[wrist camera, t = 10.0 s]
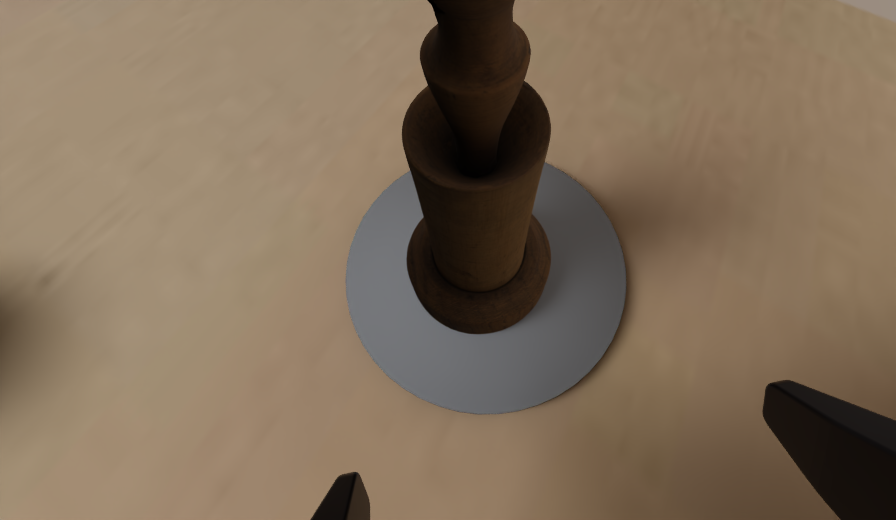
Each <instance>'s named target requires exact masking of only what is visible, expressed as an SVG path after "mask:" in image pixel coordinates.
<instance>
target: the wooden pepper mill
mask: <svg viewBox="0 0 896 520" xmlns="http://www.w3.org/2000/svg"><path fill="white" fill-rule="evenodd" d="M428 1H429V3H430V4H431V5H432V7H433V9H434V12H435V16H436V19H437V22H438V24H437V25H436V26H435V27H434V28H432V29H431V30H430V32H429V33H428V34H427V36H426V37H425V39H424V41H423V43H422V46H421V50H420V61H421V65H422V69H423V72H424V75H425V78H426V81H427V84H428V86H427V87H426V88H425V89H423V90H422V91H421V92H420V93H419V94H418V95H417V96H416V98H415V99H414V100H413V102H412V103H411V104H410V106H409V108H408V110H407V112H406V115H405V118H404V121H403V126H402V141H403V147H404V151H405V154H406V158H407V161H408V164H409V168H410V171H411V174H412V178H413V181H414V184H415V188H416V191H417V195H418V199H419V202H420V206H421V209H422V213H423V218H422V219H421V221H420V222H419V223H418V225H417V226H416V228H415V230H414V231H413V233H412V236H411V238H410V241H409V244H408V249H407V259H406V261H407V271H408V275H409V278H410V281H411V284H412V286H413V289H414V291H415V293H416V296H417V298H418V299H419V301H420V303H421V304H422V306H423V307H424V309H425V310H426V311H427V312H428V313H429V314H430V315H431V316H432V317H433V318H434V319H435V320H437V321H438V322H440V323H441V324H443V325H444V326H446V327H448V328H450V329H453V330H455V331H458V332H462V333H467V334H489V333H494V332H498V331H501V330H504V329H506V328H509V327H511V326H512V325H514V324H516V323H517V322H519V321H520V320H522V319H523V318H524V317H525V316H526V315H527V314H528V313H529V312H530V311H531V310H532V309H533V308H534V307H535V305H536V304H537V302H538V300H539V299H540V297H541V295H542V292H543V290H544V287H545V284H546V282H547V279H548V276H549V272H550V266H551V249H550V244H549V241H548V238H547V235H546V233H545V231H544V229H543V227H542V225H541V224H540V223H539V221H538V220H537V219H536V217H535V216H534V215H533V214H532V210H533V206H534V202H535V198H536V193H537V189H538V185H539V181H540V177H541V173H542V169H543V166H544V162H545V158H546V154H547V150H548V146H549V142H550V135H551V123H550V117H549V113H548V110H547V108H546V106H545V104H544V102H543V100H542V98H541V97H540V95H539V94H538V93H537V92H536V91H535V90H534V89H533V88H532V87H531V86H530V85H529V84H528V83H527V82H525V81H524V79H525V76H526V73H527V69H528V66H529V62H530V55H531V49H530V44H529V40H528V38H527V36H526V34H525V33H524V31H523V30H522V29H521V28H520V27H519V26H518V25H517V24H516V23H515V22H513V12H512V11H513V5H514V1H515V0H428Z"/></svg>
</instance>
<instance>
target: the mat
mask: <svg viewBox="0 0 896 520" xmlns="http://www.w3.org/2000/svg"><path fill="white" fill-rule="evenodd" d="M532 214H533V215H534V216H535V217H536V219H537V220H538V221H539V223H540V224H541V225H542V227H543V229H544V231H545V233H546V235H547V238H548V241H549V244H550V249H551V266H550V272H549V276H548V279H547V282H546V284H545V287H544V290H543V292H542V295H541V297H540V299H539V300H538V302H537V304H536V305H535V307H534V308H533V309H532V310H531V311H530V312H529V313H528V314H527V315H526V316H525V317H524V318H523V319H522V320H520V321H519V322H517V323H516V324H514V325H512V326H511V327H509V328H506V329H504V330H501V331H498V332H494V333H489V334H467V333H462V332H458V331H455V330H453V329H450V328H448V327H446V326H444V325H443V324H441V323H440V322H438V321H437V320H435V319H434V318H433V317H432V316H431V315H430V314H429V313H428V312H427V311H426V310H425V309H424V307H423V306H422V304H421V303H420V301H419V299H418V298H417V296H416V293H415V291H414V289H413V286H412V284H411V281H410V278H409V275H408V271H407V261H406V259H407V249H408V244H409V241H410V238H411V236H412V233H413V231H414V230H415V228H416V226H417V225H418V223H419V222H420V221H421V219H422V218H423V213H422V209H421V206H420V202H419V199H418V195H417V191H416V188H415V184H414V181H413V178H412V174H411V171H409V172H407V173H406V174H404V175H403V176H401V177H400V178H399V179H397V180H396V181H395V182H393V183H392V184H391V185H390V186H389V187H388V188H387V189H386V190H384V191H383V192H382V194H381V195H380V196H379V197H378V198H377V199H376V200H375V201H374V203H373V204H372V205H371V207H370V208H369V210H368V211H367V213H366V214H365V215H364V217H363V219H362V221H361V223H360V225H359V227H358V229H357V231H356V233H355V236H354V239H353V241H352V244H351V247H350V252H349V256H348V261H347V270H346V295H347V301H348V306H349V312H350V315H351V318H352V321H353V324H354V327H355V330H356V332H357V334H358V336H359V338H360V340H361V342H362V344H363V346H364V347H365V349H366V350H367V352H368V353H369V355H370V356H371V357H372V359H373V360H374V362H375V363H376V364H377V365H378V366H379V367H380V368H381V369H382V370H383V371H384V372H385V373H386V375H387V376H389V377H390V378H391V379H392V380H394V381H395V382H396V383H397V384H398V385H400V386H401V387H402V388H404V389H405V390H407V391H409V392H410V393H412V394H414V395H415V396H417V397H419V398H421V399H423V400H425V401H428V402H430V403H432V404H435V405H437V406H440V407H443V408H447V409H450V410H454V411H458V412H464V413H472V414H502V413H508V412H515V411H519V410H523V409H526V408H529V407H533V406H536V405H539V404H541V403H543V402H545V401H548V400H550V399H552V398H554V397H556V396H558V395H560V394H561V393H563V392H564V391H566V390H567V389H569V388H570V387H572V386H574V385H575V384H576V383H577V382H578V381H579V380H581V379H582V378H583V377H584V376H585V375H586V374H587V373H589V372H590V370H591V369H592V368H593V367H594V366H595V365H596V363H597V362H598V361H599V360H600V359H601V357H602V356H603V354H604V353H605V351H606V350H607V348H608V346H609V345H610V343H611V342H612V339H613V337H614V335H615V333H616V330H617V328H618V326H619V323H620V319H621V316H622V312H623V308H624V303H625V294H626V269H625V263H624V257H623V252H622V249H621V246H620V243H619V239H618V236H617V234H616V232H615V230H614V228H613V226H612V224H611V222H610V220H609V218H608V217H607V215H606V214H605V212H604V211H603V209H602V208H601V206H600V205H599V204H598V203H597V201H596V200H595V199H594V198H593V197H592V195H591V194H590V193H589V192H588V191H587V190H585V189H584V188H583V187H582V186H581V185H580V184H579V183H578V182H577V181H575V180H574V179H572V178H571V177H570V176H568V175H567V174H565V173H564V172H562V171H560V170H559V169H557V168H555V167H553V166H551V165H550V164H547V163H545V162H544V166H543V169H542V173H541V177H540V181H539V185H538V189H537V193H536V198H535V202H534V206H533V210H532Z"/></svg>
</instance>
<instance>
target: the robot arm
mask: <svg viewBox="0 0 896 520" xmlns="http://www.w3.org/2000/svg"><path fill="white" fill-rule="evenodd" d="M763 417H764V419H765V421H766V423H767V425H768V426H769V428H770V429H771V430H772V432H773V433H774V434H775V436H776V437H777V438H778V440H779V441H780V443H781V444H782V445H783V447H784V448H785V449H786V451H787V452H788V454H789V455H790V456H791V458H792V459H793V460H794V462H795V463H796V465H797V466H798V467H799V469H800V470H801V471H802V473H803V474H804V475H805V477H806V478H807V480H808V481H809V482H810V483H811V485H812V486H813V487H814V489H815V490H816V491H817V492H818V494H819V495H820V496H821V497H822V498H823V500H824V501H825V502H826V503H827V504H828V506H829V507H830V508H831V509H832V510H833V511H834V512H835V514H836V515H837V516H838V517H839V518H840V519H841V520H896V421H895V420H893V419H890V418H888V417H885V416H882V415H880V414H877V413H874V412H872V411H869V410H867V409H864V408H861V407H859V406H856V405H854V404H851V403H848V402H846V401H843V400H841V399H838V398H835V397H833V396H830V395H827V394H825V393H822V392H820V391H817V390H814V389H812V388H809V387H807V386H804V385H801V384H799V383H796V382H793V381H790V380H782V381H778V382H773V383H770V384H768V385H767V386H766V389H765V397H764V404H763ZM311 520H370V503H369V498H368V495H367V492H366V490H365V487H364V484H363V482H362V479H361V477H360V475H359V473H357V472H352V473H347V474H342V475H340V476H339V477H338V478H337V479H336V480H335V482H334V484H333V485H332V487H331V488H330V490H329V491H328V493H327V495H326V496H325V498H324V499H323V501H322V502H321V504H320V506H319V507H318V509H317V510H316V512H315V513H314V515H313V517H312V518H311Z"/></svg>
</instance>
